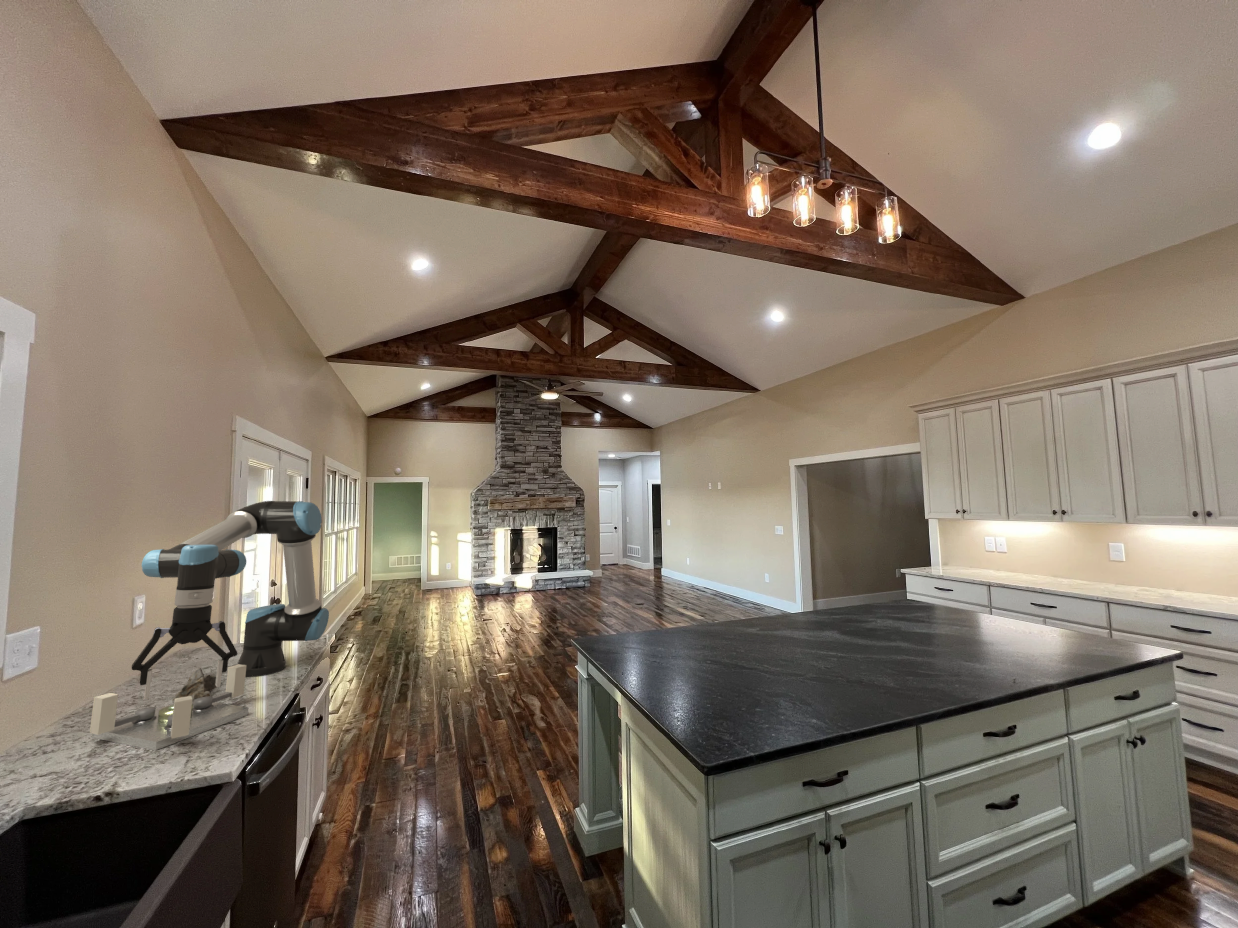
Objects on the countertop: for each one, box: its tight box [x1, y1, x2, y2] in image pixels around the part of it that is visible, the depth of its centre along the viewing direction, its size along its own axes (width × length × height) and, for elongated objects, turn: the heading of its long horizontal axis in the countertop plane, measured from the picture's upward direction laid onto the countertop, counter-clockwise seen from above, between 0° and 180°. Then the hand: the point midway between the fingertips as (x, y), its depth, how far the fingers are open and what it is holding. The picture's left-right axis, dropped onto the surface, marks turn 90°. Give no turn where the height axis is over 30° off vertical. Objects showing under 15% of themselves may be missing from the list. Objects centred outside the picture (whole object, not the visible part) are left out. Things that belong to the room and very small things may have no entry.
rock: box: [171, 667, 218, 703], centre depth 159 cm, size 18×11×10 cm, turn 16°
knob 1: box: [89, 692, 157, 735], centre depth 130 cm, size 13×4×9 cm, turn 163°
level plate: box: [91, 699, 249, 751], centre depth 135 cm, size 23×23×6 cm
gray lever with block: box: [194, 663, 246, 709], centre depth 147 cm, size 13×4×9 cm, turn 165°
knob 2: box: [167, 696, 192, 739], centre depth 128 cm, size 13×4×9 cm, turn 45°
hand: (183, 691), depth 125 cm, fingers open, 13 cm apart
